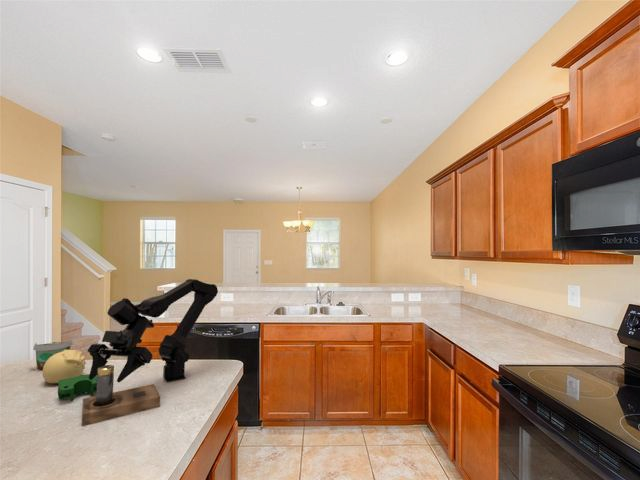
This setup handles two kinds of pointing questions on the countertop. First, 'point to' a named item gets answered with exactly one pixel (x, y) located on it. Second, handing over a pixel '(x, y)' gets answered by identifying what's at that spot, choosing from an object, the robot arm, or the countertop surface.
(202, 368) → the countertop surface
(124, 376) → the robot arm
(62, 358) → the sculpture
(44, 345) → the food container
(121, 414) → the socket plate
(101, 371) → the grey and gold cylinder
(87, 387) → the clamp
